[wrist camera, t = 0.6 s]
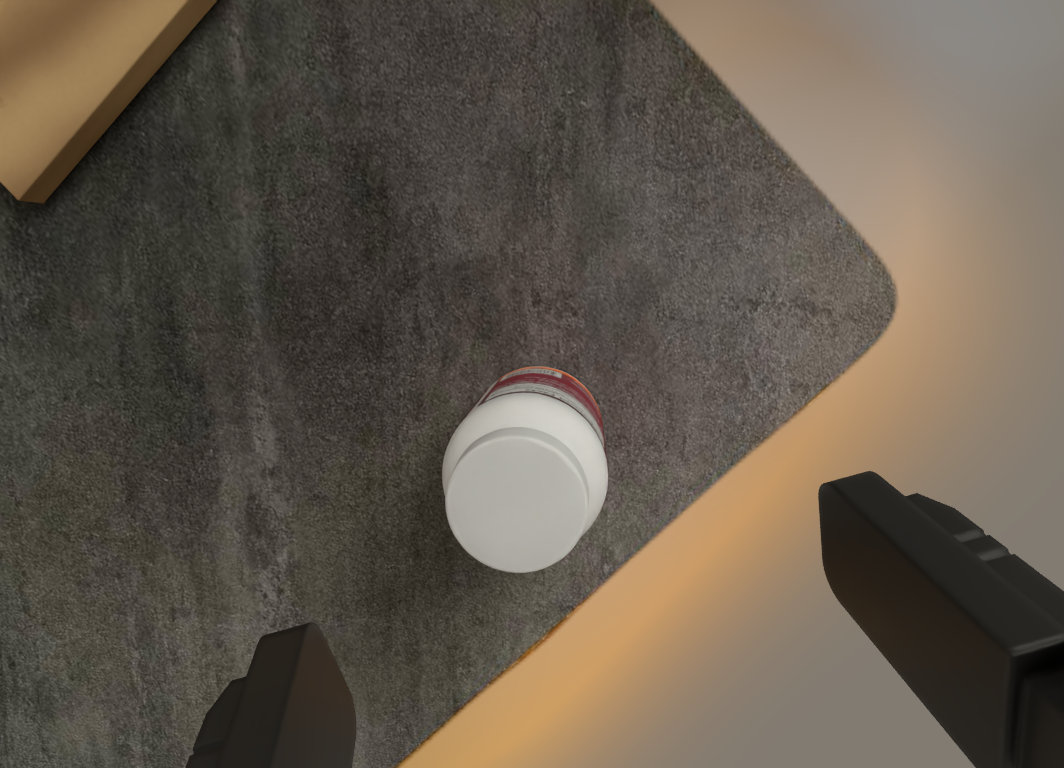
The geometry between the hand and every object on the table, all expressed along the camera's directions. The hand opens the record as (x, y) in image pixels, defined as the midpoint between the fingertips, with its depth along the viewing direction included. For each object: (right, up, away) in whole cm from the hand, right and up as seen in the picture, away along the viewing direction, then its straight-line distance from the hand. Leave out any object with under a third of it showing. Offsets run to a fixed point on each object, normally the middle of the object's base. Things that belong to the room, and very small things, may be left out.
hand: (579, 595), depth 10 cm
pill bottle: (0, +1, +22) cm, 22 cm away
